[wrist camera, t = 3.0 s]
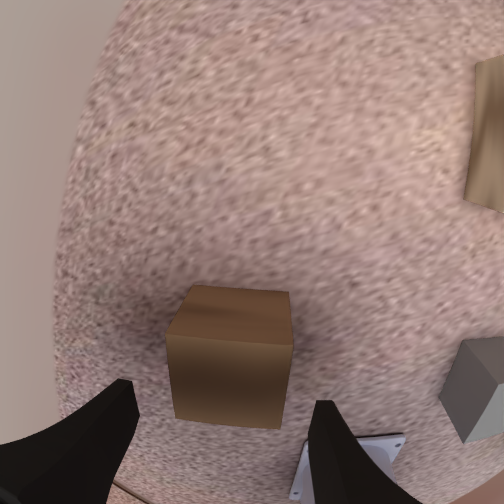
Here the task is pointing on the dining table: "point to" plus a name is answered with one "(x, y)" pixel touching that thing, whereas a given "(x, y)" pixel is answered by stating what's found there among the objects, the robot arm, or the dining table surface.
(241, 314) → the walnut cube
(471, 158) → the sticky note pad
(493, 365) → the slate cube
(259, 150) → the dining table surface
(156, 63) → the dining table surface
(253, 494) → the dining table surface
